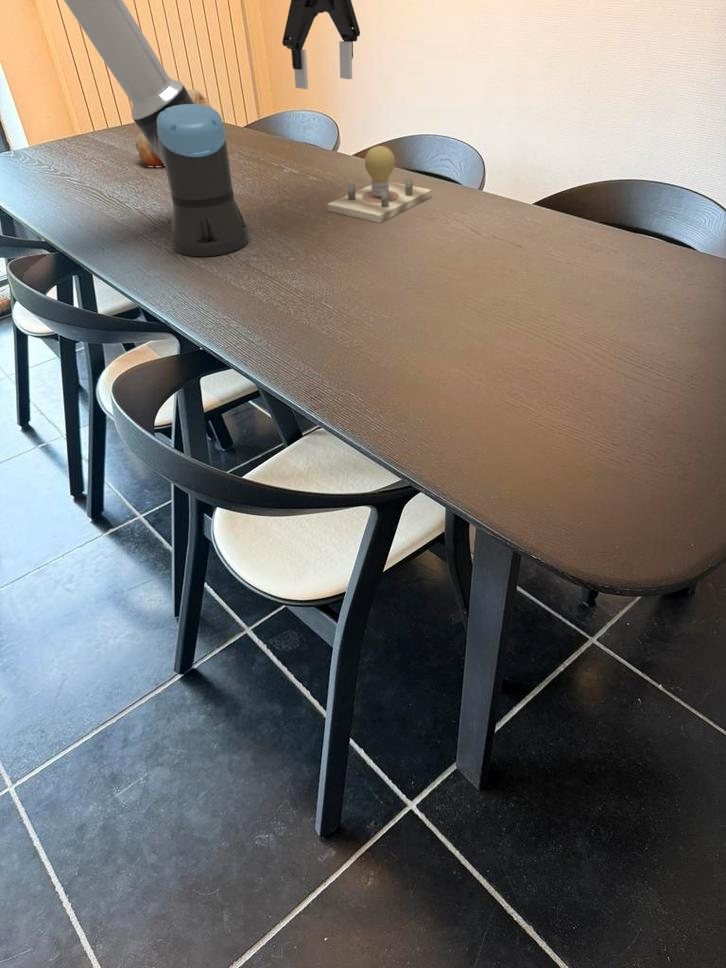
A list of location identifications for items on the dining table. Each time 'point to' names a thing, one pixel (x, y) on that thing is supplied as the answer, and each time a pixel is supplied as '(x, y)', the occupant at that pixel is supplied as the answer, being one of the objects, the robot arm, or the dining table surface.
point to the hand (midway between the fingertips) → (324, 83)
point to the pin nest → (379, 201)
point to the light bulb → (379, 168)
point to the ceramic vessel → (143, 144)
